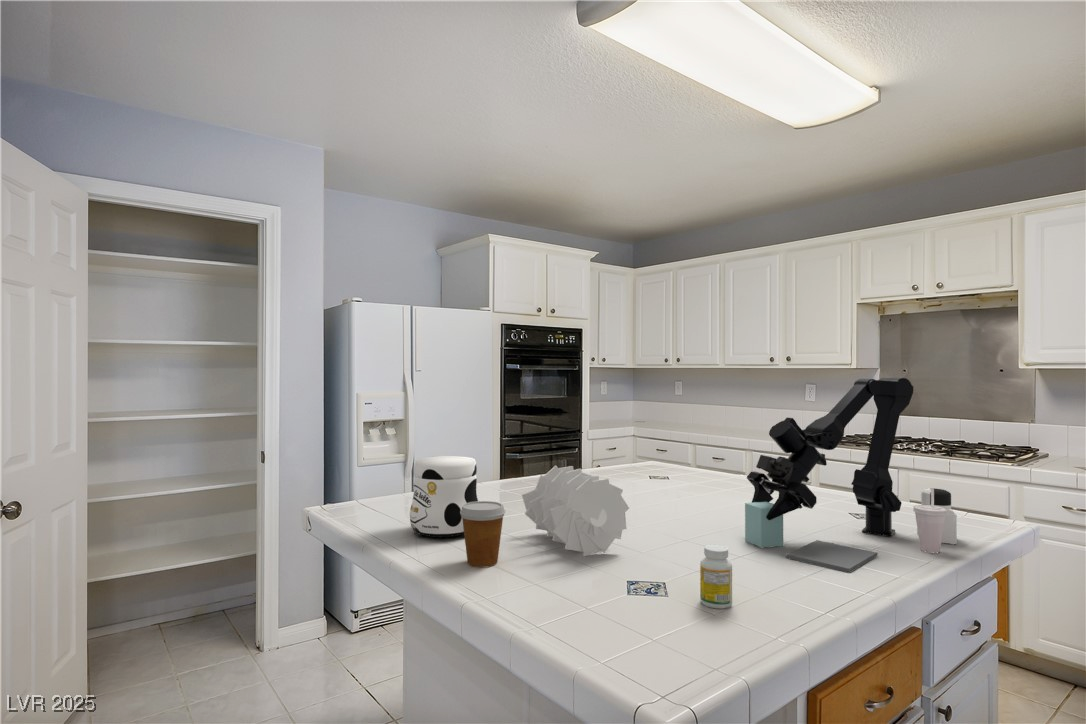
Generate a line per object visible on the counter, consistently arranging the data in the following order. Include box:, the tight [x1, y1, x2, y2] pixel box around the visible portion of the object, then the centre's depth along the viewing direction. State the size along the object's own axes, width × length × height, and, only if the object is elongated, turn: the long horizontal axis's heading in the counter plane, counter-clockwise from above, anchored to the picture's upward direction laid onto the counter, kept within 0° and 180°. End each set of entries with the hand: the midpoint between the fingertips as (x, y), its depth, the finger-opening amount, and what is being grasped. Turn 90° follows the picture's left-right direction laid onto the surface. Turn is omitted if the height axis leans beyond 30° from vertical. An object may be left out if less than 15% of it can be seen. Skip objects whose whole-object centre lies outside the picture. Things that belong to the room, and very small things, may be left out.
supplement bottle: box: [699, 544, 733, 610], centre depth 104 cm, size 5×5×10 cm
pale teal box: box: [744, 501, 784, 548], centre depth 141 cm, size 6×6×9 cm
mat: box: [785, 539, 878, 573], centre depth 131 cm, size 16×13×1 cm
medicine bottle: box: [916, 487, 958, 545], centre depth 145 cm, size 7×7×12 cm
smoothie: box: [912, 489, 947, 554], centre depth 135 cm, size 6×6×14 cm
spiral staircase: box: [521, 465, 630, 557], centre depth 140 cm, size 18×18×25 cm
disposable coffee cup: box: [460, 500, 506, 568], centre depth 126 cm, size 10×10×12 cm
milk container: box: [409, 455, 479, 538], centre depth 150 cm, size 17×17×18 cm
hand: (758, 515), depth 141 cm, fingers closed on pale teal box, 6 cm apart
